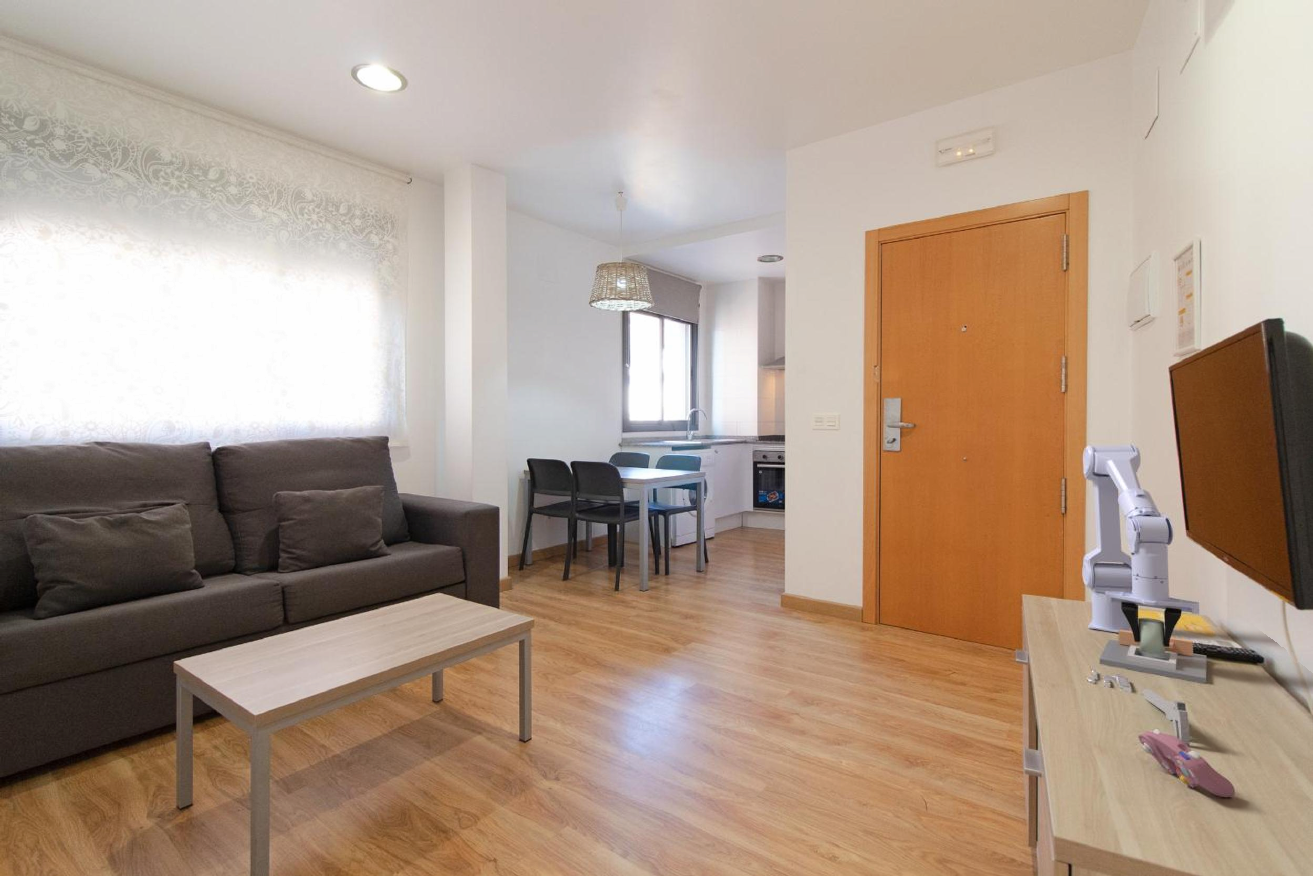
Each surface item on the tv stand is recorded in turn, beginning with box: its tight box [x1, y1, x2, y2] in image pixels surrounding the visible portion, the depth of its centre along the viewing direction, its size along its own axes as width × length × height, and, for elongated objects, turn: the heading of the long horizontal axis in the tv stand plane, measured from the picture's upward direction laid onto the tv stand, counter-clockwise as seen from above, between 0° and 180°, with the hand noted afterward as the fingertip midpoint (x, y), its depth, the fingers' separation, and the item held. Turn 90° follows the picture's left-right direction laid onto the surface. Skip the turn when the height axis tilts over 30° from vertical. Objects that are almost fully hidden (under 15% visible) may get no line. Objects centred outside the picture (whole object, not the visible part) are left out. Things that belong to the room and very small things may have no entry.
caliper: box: [1140, 688, 1191, 746], centre depth 99 cm, size 20×1×6 cm, turn 155°
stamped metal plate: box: [1086, 668, 1132, 693], centre depth 114 cm, size 8×7×2 cm
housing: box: [1099, 639, 1208, 685], centre depth 123 cm, size 15×16×2 cm
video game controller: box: [1138, 728, 1236, 798], centre depth 82 cm, size 10×5×7 cm, turn 179°
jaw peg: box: [1138, 617, 1165, 654], centre depth 121 cm, size 4×4×6 cm
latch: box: [1117, 629, 1194, 656], centre depth 126 cm, size 2×12×3 cm, turn 47°
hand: (1151, 643), depth 121 cm, fingers closed on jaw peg, 4 cm apart
